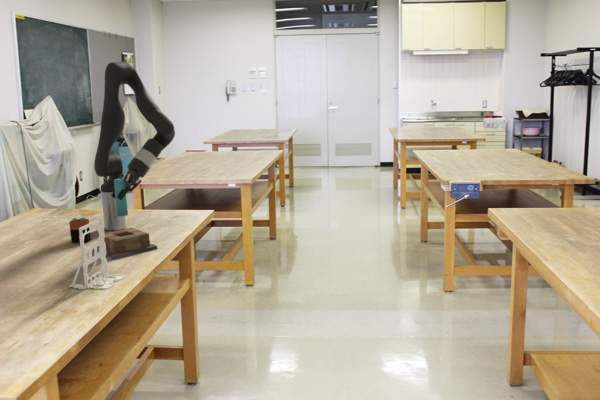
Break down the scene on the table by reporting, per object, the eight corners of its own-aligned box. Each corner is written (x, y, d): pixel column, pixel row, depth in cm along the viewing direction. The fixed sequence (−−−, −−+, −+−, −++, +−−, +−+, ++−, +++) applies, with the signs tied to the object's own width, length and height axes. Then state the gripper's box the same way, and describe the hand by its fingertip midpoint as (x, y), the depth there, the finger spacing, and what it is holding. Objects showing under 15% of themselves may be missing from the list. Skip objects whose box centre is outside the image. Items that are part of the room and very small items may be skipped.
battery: (87, 242, 241) (85, 219, 239) (71, 243, 241) (68, 219, 239) (91, 239, 246) (88, 216, 243) (75, 240, 246) (72, 217, 244)
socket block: (93, 249, 231) (91, 234, 229) (135, 240, 243) (133, 225, 241) (114, 259, 218) (112, 243, 216) (157, 248, 230) (156, 233, 228)
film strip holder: (107, 290, 185) (101, 229, 181) (67, 289, 188) (60, 228, 184) (128, 275, 199) (123, 218, 195) (91, 274, 202) (85, 217, 197)
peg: (115, 215, 228) (111, 179, 225) (124, 213, 230) (121, 178, 227) (120, 216, 225) (116, 180, 222) (129, 214, 227) (126, 179, 224)
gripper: (126, 155, 233) (100, 190, 227) (144, 158, 223) (117, 194, 217) (139, 167, 238) (114, 201, 232) (157, 170, 227) (131, 206, 222)
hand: (116, 197), depth 225 cm, fingers closed on peg, 4 cm apart
